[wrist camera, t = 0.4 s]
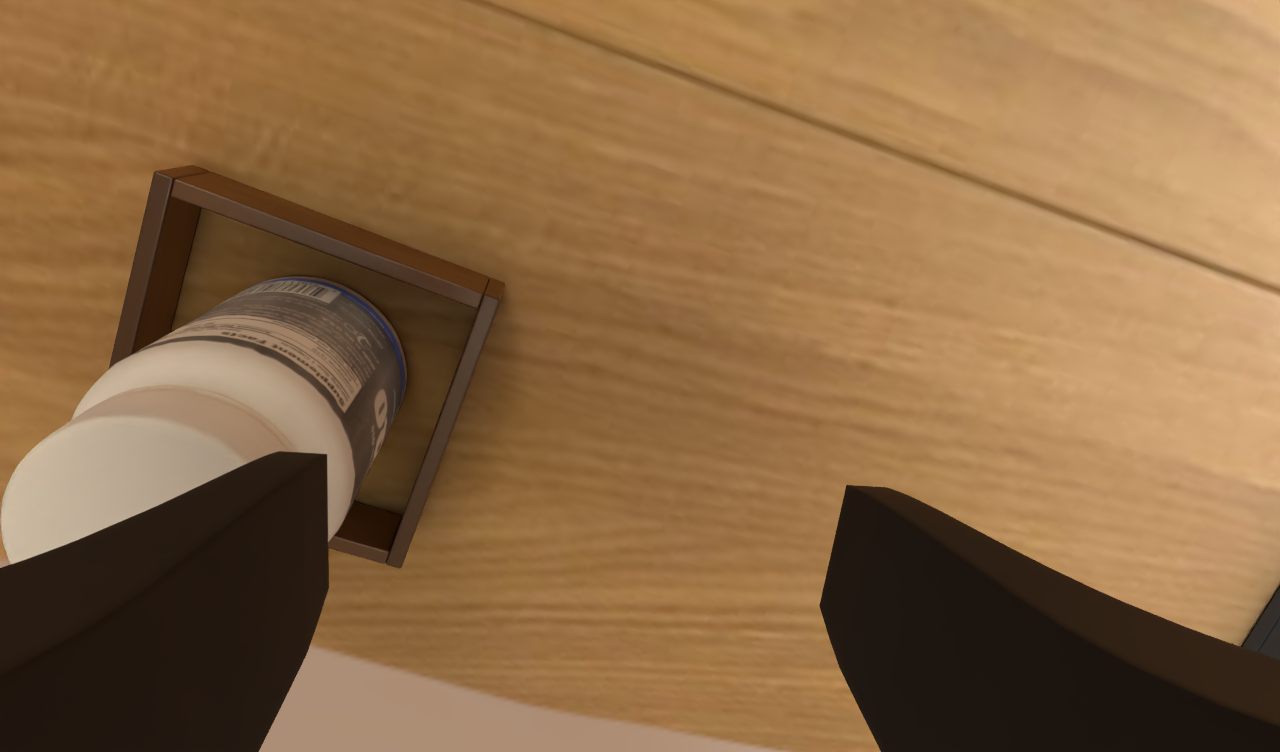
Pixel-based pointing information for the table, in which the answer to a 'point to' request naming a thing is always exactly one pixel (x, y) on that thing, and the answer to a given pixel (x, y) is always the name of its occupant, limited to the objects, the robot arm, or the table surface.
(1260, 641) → the tray
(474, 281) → the brown wooden square frame
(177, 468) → the pill bottle
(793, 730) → the table surface
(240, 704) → the robot arm
